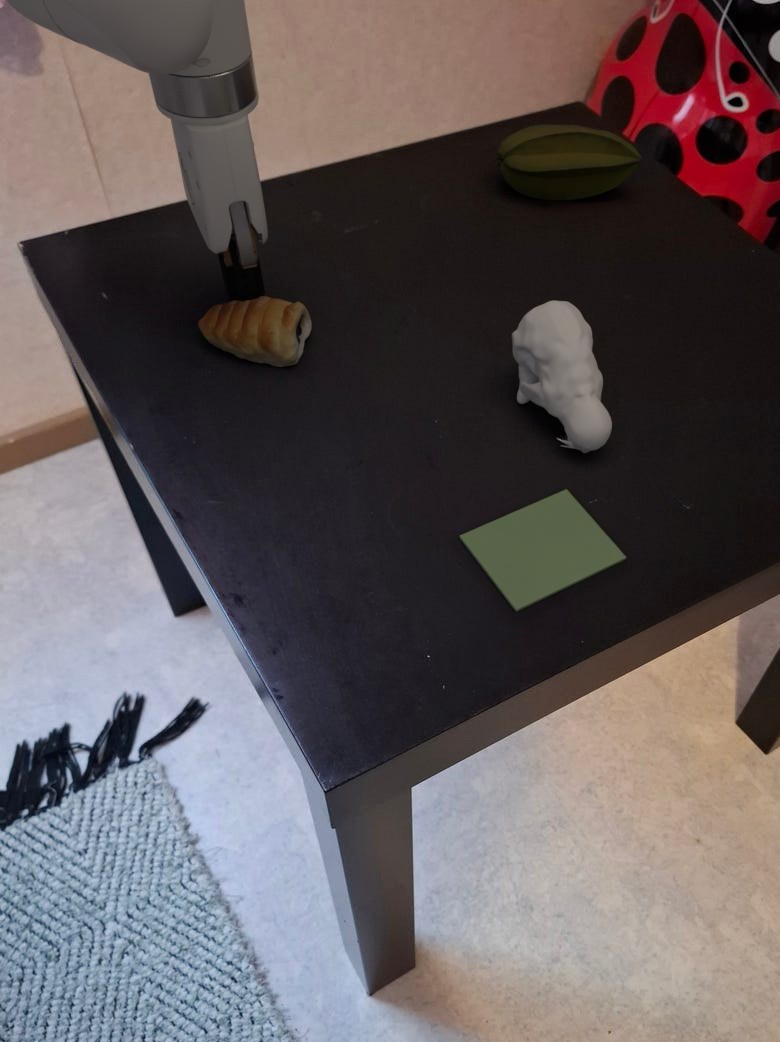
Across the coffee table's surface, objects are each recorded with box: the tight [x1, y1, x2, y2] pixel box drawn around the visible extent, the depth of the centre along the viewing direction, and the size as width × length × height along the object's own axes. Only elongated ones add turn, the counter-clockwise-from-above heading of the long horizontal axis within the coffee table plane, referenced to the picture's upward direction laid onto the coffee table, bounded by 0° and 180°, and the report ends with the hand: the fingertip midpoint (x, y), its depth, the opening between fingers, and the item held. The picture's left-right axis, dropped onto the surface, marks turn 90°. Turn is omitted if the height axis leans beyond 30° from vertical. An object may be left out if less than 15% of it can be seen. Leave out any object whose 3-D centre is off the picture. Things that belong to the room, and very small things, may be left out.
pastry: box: [197, 295, 313, 368], centre depth 79 cm, size 9×7×4 cm
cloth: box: [458, 488, 627, 613], centre depth 69 cm, size 10×8×1 cm
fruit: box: [496, 123, 644, 202], centre depth 94 cm, size 11×12×7 cm
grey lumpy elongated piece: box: [511, 300, 613, 454], centre depth 74 cm, size 6×8×12 cm
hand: (245, 294), depth 82 cm, fingers closed
